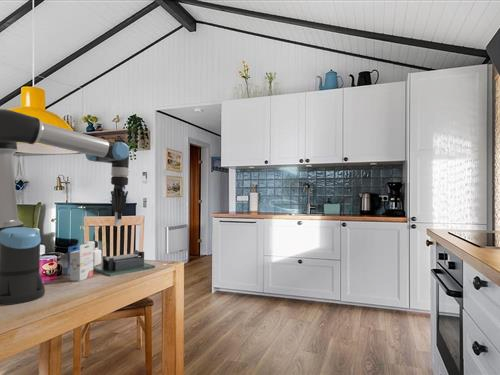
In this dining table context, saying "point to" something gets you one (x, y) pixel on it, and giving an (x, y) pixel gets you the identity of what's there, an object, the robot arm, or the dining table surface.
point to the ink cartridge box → (81, 263)
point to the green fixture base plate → (123, 265)
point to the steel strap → (125, 256)
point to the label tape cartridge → (68, 259)
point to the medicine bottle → (95, 253)
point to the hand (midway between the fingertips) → (117, 226)
